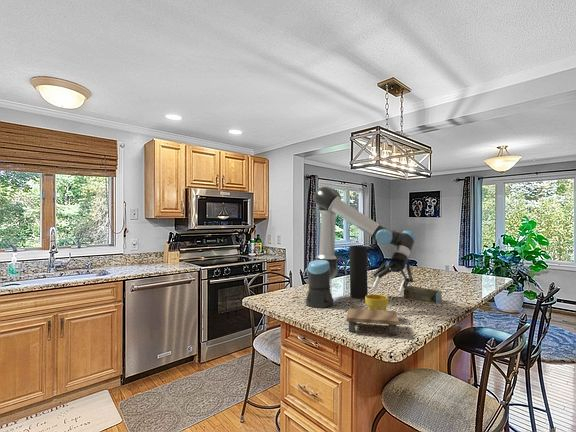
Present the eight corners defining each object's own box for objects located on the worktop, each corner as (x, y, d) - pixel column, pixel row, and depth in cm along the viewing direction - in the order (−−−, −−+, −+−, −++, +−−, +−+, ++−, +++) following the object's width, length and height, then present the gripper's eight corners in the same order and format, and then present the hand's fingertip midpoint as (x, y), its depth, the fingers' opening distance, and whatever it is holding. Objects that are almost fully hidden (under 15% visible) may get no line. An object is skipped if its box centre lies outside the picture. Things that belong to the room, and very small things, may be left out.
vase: (346, 297, 185) (346, 246, 185) (355, 293, 193) (354, 245, 193) (362, 299, 178) (361, 247, 179) (370, 296, 186) (369, 246, 187)
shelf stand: (346, 332, 125) (346, 317, 125) (349, 321, 139) (349, 308, 139) (399, 336, 120) (398, 321, 120) (396, 325, 133) (396, 311, 133)
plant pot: (364, 320, 141) (363, 298, 141) (366, 313, 151) (366, 293, 151) (388, 322, 137) (387, 300, 138) (389, 315, 147) (388, 295, 147)
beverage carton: (436, 304, 167) (436, 292, 167) (402, 298, 181) (402, 287, 181) (442, 301, 172) (442, 289, 172) (409, 296, 186) (409, 285, 186)
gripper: (427, 262, 152) (415, 299, 142) (381, 259, 170) (367, 291, 160) (422, 253, 149) (409, 289, 138) (375, 250, 167) (361, 282, 156)
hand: (386, 290), depth 149 cm, fingers open, 13 cm apart
